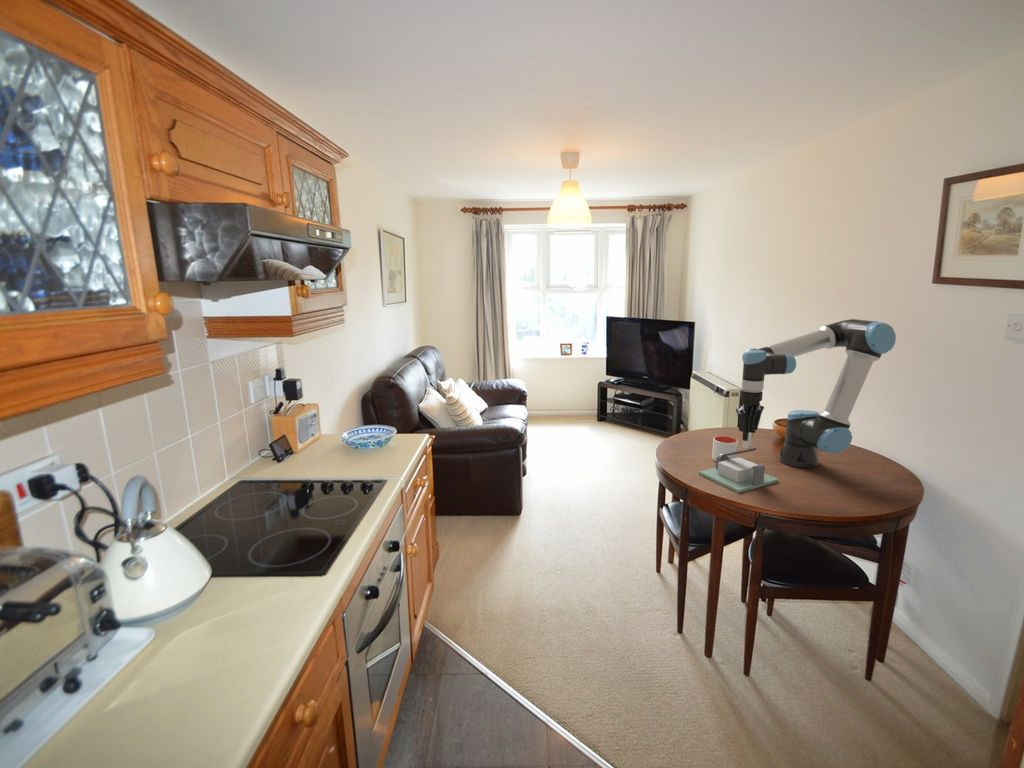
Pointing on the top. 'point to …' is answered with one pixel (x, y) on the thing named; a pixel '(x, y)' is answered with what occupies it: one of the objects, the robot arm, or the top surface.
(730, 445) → the cup
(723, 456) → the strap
